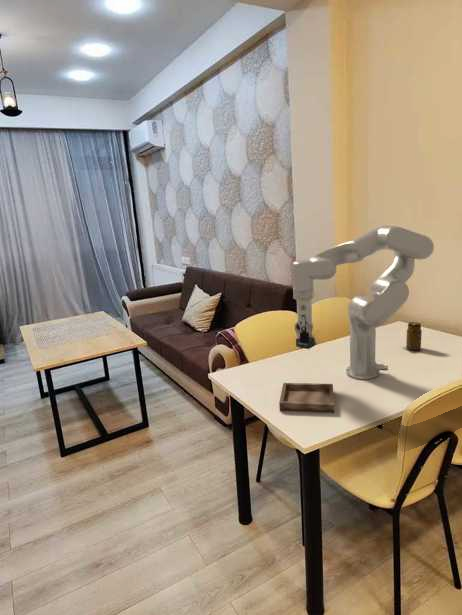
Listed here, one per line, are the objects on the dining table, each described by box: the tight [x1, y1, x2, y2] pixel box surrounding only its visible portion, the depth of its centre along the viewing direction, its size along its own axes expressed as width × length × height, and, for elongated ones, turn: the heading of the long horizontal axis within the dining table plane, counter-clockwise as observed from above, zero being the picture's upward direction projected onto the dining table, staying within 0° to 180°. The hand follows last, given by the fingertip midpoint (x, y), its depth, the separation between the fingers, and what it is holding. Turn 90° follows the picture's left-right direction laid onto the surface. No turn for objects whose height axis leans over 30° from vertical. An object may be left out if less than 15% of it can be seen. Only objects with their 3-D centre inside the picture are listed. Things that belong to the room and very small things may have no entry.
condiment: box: [401, 321, 428, 354], centre depth 183 cm, size 7×8×12 cm
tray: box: [278, 382, 335, 414], centre depth 144 cm, size 18×16×3 cm
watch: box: [294, 318, 316, 350], centre depth 155 cm, size 6×8×11 cm
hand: (304, 338), depth 156 cm, fingers closed on watch, 8 cm apart
